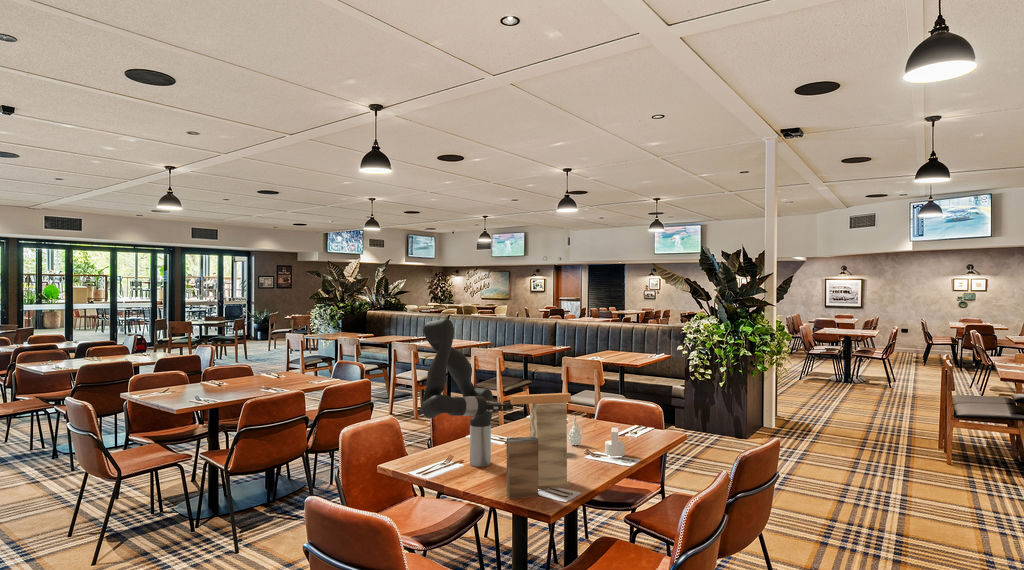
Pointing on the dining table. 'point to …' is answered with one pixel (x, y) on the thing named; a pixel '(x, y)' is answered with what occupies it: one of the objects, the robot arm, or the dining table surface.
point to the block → (522, 467)
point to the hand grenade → (575, 434)
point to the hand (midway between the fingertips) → (506, 405)
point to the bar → (540, 398)
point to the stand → (550, 443)
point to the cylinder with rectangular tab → (614, 445)
